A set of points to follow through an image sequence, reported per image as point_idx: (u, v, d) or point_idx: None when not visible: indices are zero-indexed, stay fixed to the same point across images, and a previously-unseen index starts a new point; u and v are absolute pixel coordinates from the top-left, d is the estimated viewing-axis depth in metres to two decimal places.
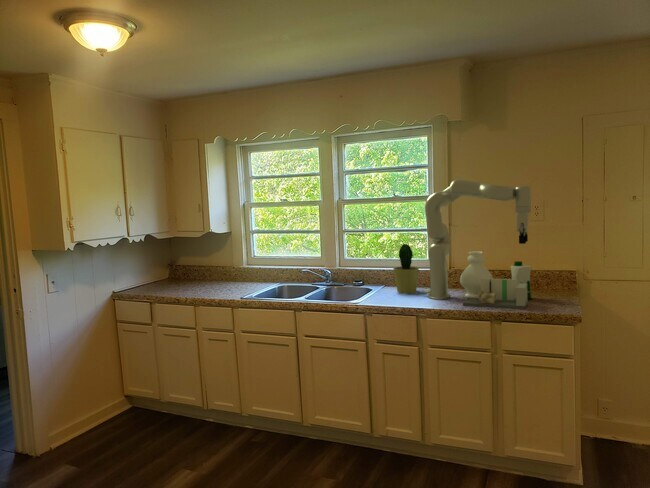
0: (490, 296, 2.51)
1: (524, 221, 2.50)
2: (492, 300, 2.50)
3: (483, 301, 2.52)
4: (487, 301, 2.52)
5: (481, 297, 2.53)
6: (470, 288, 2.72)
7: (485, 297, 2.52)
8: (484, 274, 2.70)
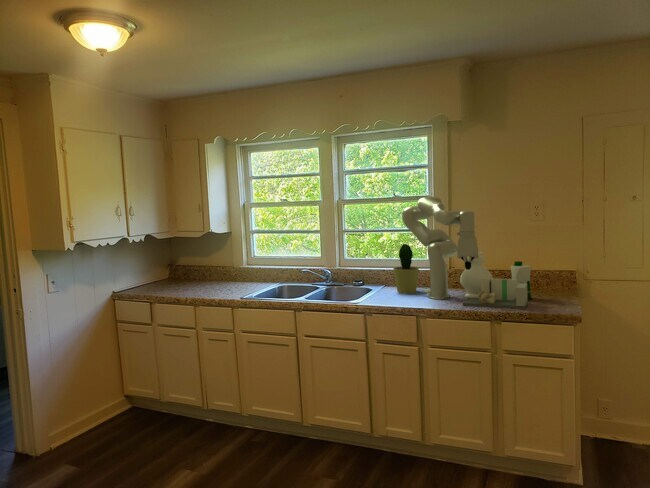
0: (490, 296, 2.51)
1: (477, 245, 2.55)
2: (492, 300, 2.50)
3: (483, 301, 2.52)
4: (487, 301, 2.52)
5: (481, 297, 2.53)
6: (470, 288, 2.72)
7: (485, 297, 2.52)
8: (484, 274, 2.70)
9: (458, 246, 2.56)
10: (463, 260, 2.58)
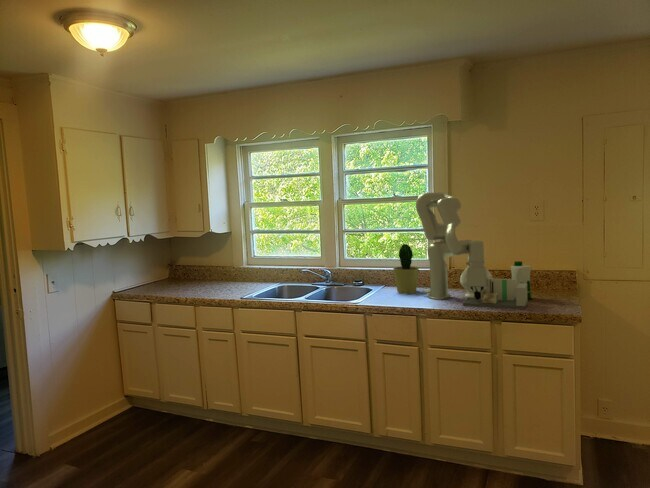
0: (492, 296, 2.50)
1: None
2: (494, 300, 2.50)
3: (485, 301, 2.52)
4: (489, 301, 2.51)
5: (483, 297, 2.52)
6: (470, 288, 2.72)
7: (488, 297, 2.51)
8: None
9: (467, 276, 2.56)
10: None
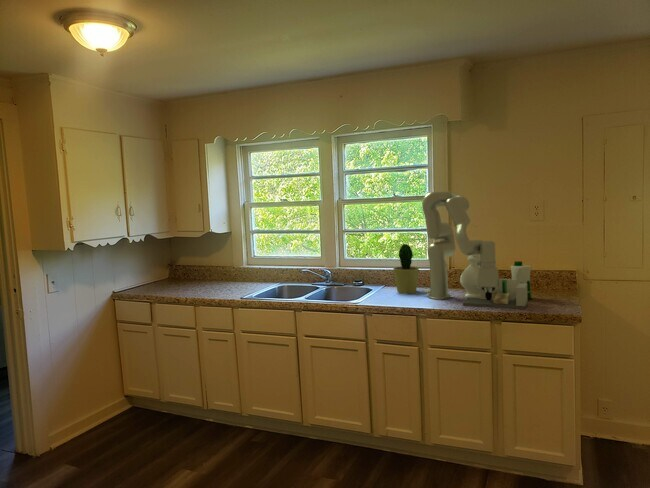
0: (504, 297, 2.47)
1: None
2: (506, 301, 2.47)
3: (497, 302, 2.49)
4: (501, 302, 2.48)
5: (494, 298, 2.50)
6: (470, 288, 2.72)
7: (499, 297, 2.49)
8: None
9: (479, 276, 2.53)
10: (484, 290, 2.54)
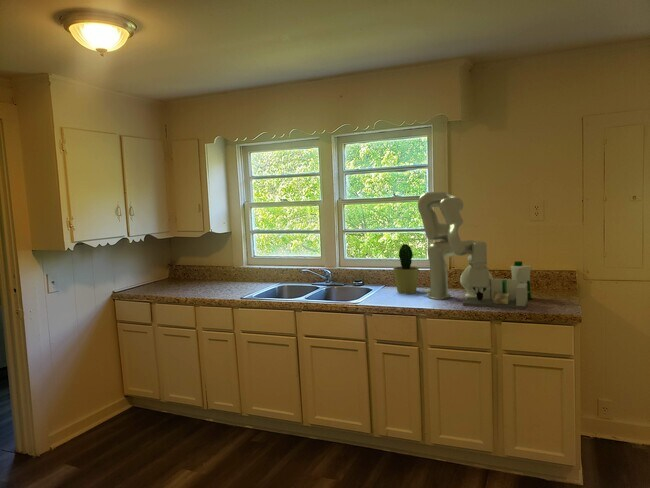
0: (504, 297, 2.47)
1: (489, 276, 2.54)
2: (506, 301, 2.47)
3: (497, 302, 2.49)
4: (501, 302, 2.48)
5: (494, 298, 2.50)
6: None
7: (499, 297, 2.49)
8: None
9: (470, 277, 2.55)
10: (475, 290, 2.57)
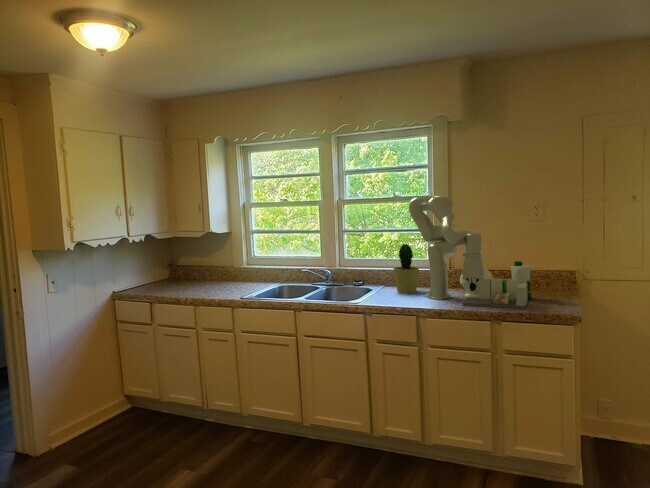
0: (504, 297, 2.47)
1: None
2: (506, 301, 2.47)
3: (497, 302, 2.49)
4: (501, 302, 2.48)
5: (494, 298, 2.50)
6: None
7: (499, 297, 2.49)
8: (484, 274, 2.70)
9: (464, 267, 2.56)
10: (468, 281, 2.58)
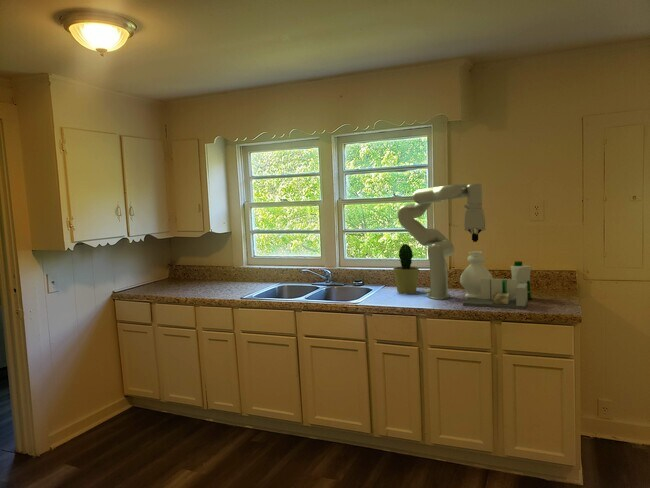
0: (504, 297, 2.47)
1: (484, 217, 2.58)
2: (506, 301, 2.47)
3: (497, 302, 2.49)
4: (501, 302, 2.48)
5: (494, 298, 2.50)
6: (470, 288, 2.72)
7: (499, 297, 2.49)
8: (484, 274, 2.70)
9: (465, 218, 2.59)
10: (470, 232, 2.61)
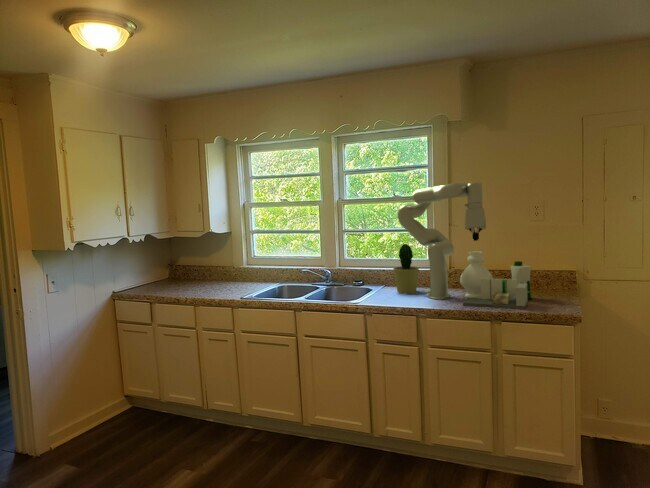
0: (504, 297, 2.47)
1: None
2: (506, 301, 2.47)
3: (497, 302, 2.49)
4: (501, 302, 2.48)
5: (494, 298, 2.50)
6: (470, 288, 2.72)
7: (499, 297, 2.49)
8: (484, 274, 2.70)
9: (466, 217, 2.59)
10: (471, 231, 2.61)
